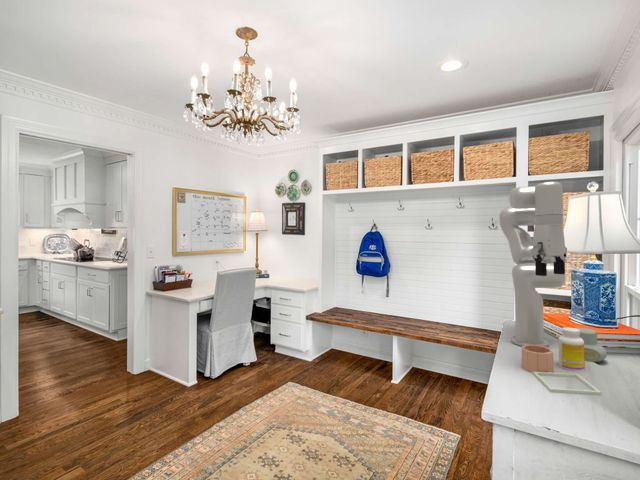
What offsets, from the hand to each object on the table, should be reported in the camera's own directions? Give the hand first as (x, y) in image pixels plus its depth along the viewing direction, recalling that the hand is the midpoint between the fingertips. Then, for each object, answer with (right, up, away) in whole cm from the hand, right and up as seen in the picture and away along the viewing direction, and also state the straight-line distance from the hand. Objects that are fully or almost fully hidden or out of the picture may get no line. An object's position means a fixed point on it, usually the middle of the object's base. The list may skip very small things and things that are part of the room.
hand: (550, 274), depth 111 cm
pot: (-5, -30, -1) cm, 31 cm away
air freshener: (+18, -30, +8) cm, 36 cm away
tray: (-4, -31, -12) cm, 33 cm away
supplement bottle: (+7, -30, 0) cm, 31 cm away
